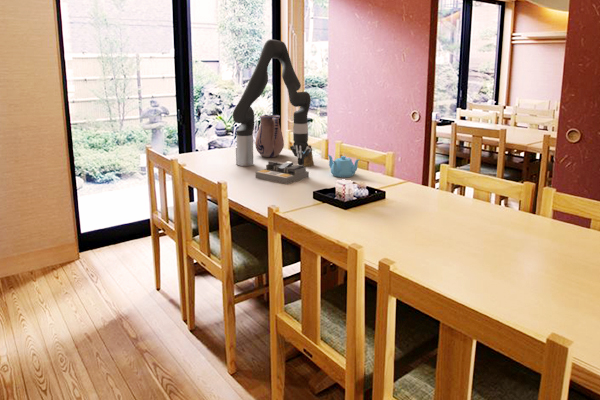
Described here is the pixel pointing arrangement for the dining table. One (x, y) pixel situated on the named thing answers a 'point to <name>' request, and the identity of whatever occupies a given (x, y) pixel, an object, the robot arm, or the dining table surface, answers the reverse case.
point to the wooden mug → (308, 159)
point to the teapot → (342, 166)
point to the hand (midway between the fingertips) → (300, 164)
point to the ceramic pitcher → (269, 136)
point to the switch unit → (282, 174)
